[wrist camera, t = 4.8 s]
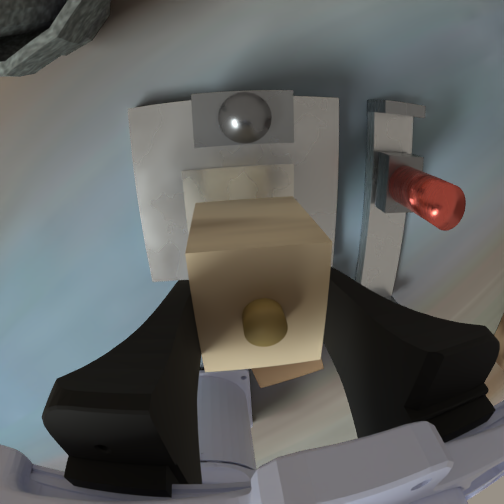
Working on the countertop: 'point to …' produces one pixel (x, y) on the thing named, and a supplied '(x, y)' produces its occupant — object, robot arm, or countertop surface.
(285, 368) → the block
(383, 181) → the lever
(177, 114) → the press
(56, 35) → the mortar and pestle
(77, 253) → the countertop surface
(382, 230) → the rail
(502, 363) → the wooden tray
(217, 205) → the block
